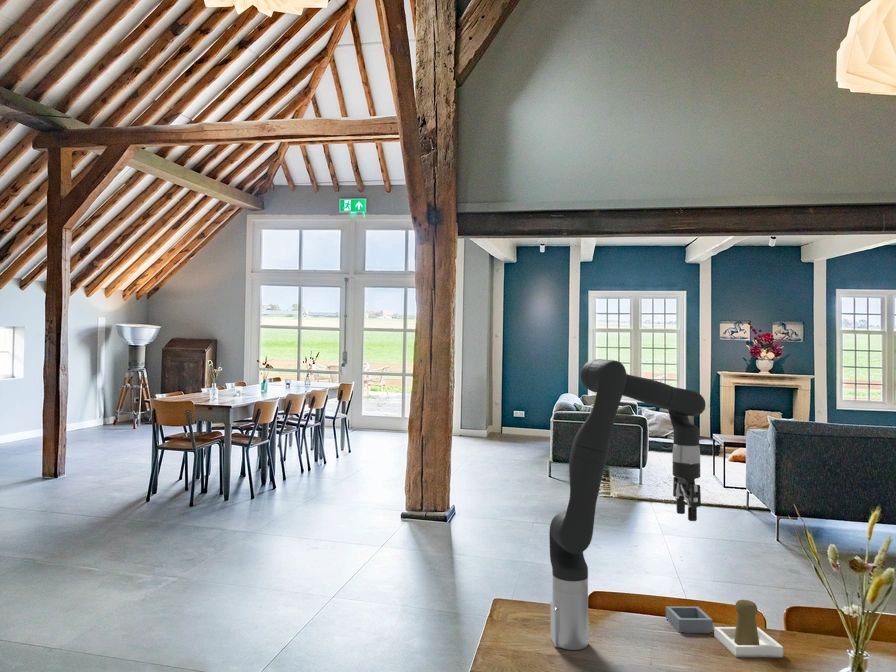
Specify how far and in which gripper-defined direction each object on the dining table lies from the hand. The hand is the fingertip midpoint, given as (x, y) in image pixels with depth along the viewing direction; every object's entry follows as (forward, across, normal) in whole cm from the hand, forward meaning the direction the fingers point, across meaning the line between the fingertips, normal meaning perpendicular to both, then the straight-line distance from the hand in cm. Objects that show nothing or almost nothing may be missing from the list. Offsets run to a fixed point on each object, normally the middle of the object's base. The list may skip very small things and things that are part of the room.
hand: (686, 517), depth 177 cm
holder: (+30, +3, 0) cm, 30 cm away
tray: (+29, +15, +10) cm, 35 cm away
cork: (+29, +15, +10) cm, 34 cm away
